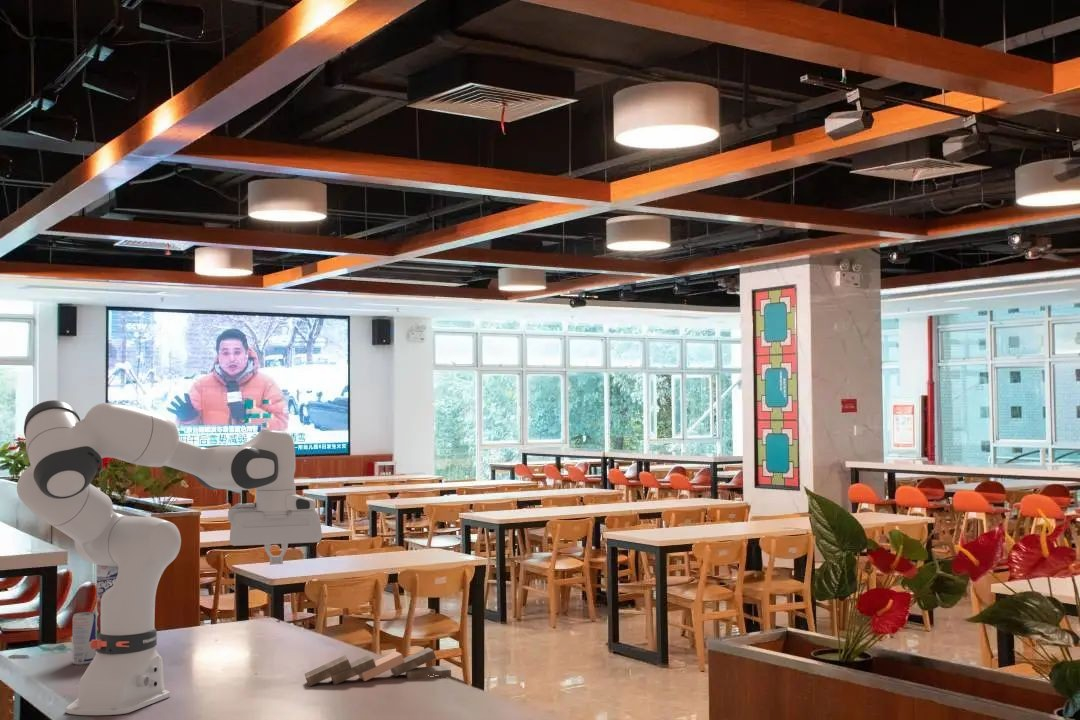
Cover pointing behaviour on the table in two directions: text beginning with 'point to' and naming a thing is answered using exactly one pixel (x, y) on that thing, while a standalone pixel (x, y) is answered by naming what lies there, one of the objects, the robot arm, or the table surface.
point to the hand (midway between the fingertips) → (276, 564)
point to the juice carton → (104, 587)
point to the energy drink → (83, 637)
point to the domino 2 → (355, 669)
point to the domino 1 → (327, 670)
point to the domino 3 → (383, 665)
